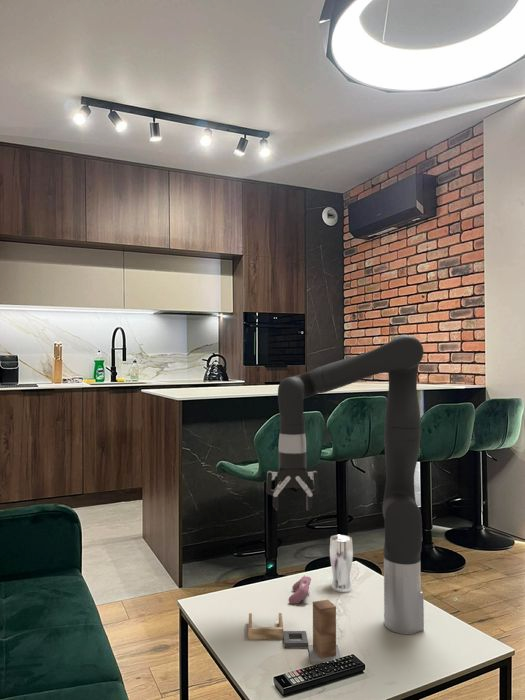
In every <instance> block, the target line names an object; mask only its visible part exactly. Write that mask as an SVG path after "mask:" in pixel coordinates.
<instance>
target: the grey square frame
mask: <svg viewBox="0 0 525 700" xmlns="http://www.w3.org/2000/svg"><path fill="white" fill-rule="evenodd" d="M290 639H291V640H290ZM297 639H299V640H297ZM283 644H284V645H283V646H284V649H308V645H309V640H308V634H307V630H283Z"/></svg>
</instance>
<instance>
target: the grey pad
mask: <svg viewBox="0 0 525 700" xmlns="http://www.w3.org/2000/svg"><path fill="white" fill-rule="evenodd" d="M339 648H340V647H339V645H338V644H337V643H336V656H331V657H326V658H321V659H320V658H319V656H318V655H317V654H316V653H315V652H314V650H313V644H308V648H307V649H308V653H309V659H310V665H321V664H320V663H324V662H328V661H331V660H334V659H338V658H342V655H341V651H340V649H339Z"/></svg>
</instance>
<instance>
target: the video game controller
mask: <svg viewBox="0 0 525 700" xmlns="http://www.w3.org/2000/svg"><path fill="white" fill-rule="evenodd" d="M311 581H312V578H311V577H310V576H308V575H307V576H306V575H304V576H302V577H301V578H300V579H299V580H298V581H296V582H294V583H293V585H292V586H291V587H292V589H291V590H292V591H293V594H291V595H290V596H289V598H288V603H289V604H290V605H296V604H299V603H300V602H302V601H303V600H304V599H305V598H306V597H308V596H310V593H311V592H310V591H309V590H310V585H311Z"/></svg>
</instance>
